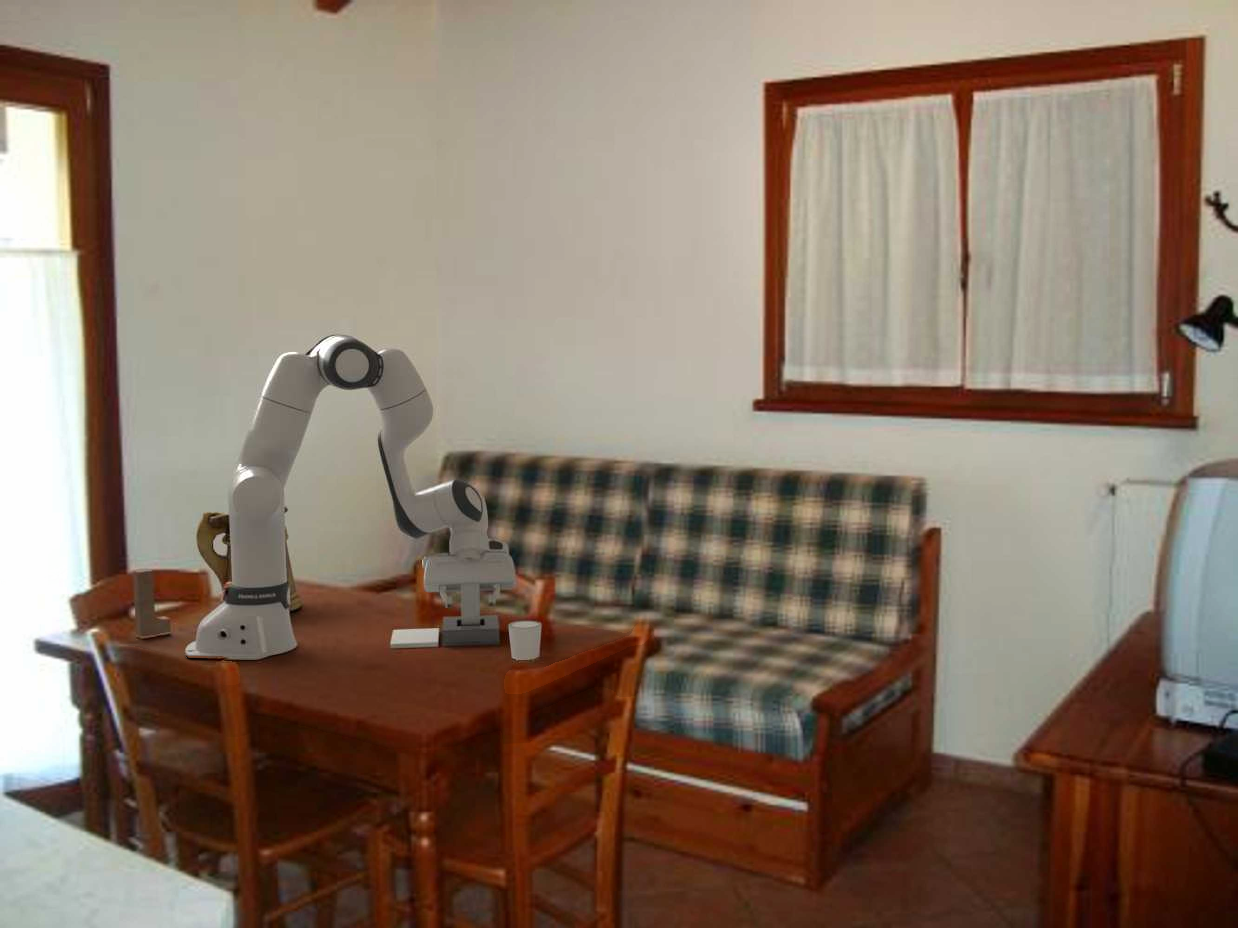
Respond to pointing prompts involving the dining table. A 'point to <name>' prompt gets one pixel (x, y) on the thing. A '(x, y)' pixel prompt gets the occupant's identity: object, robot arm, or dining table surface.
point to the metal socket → (471, 632)
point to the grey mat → (415, 638)
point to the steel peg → (470, 604)
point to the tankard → (221, 564)
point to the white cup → (525, 639)
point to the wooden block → (147, 605)
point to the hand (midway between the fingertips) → (470, 605)
